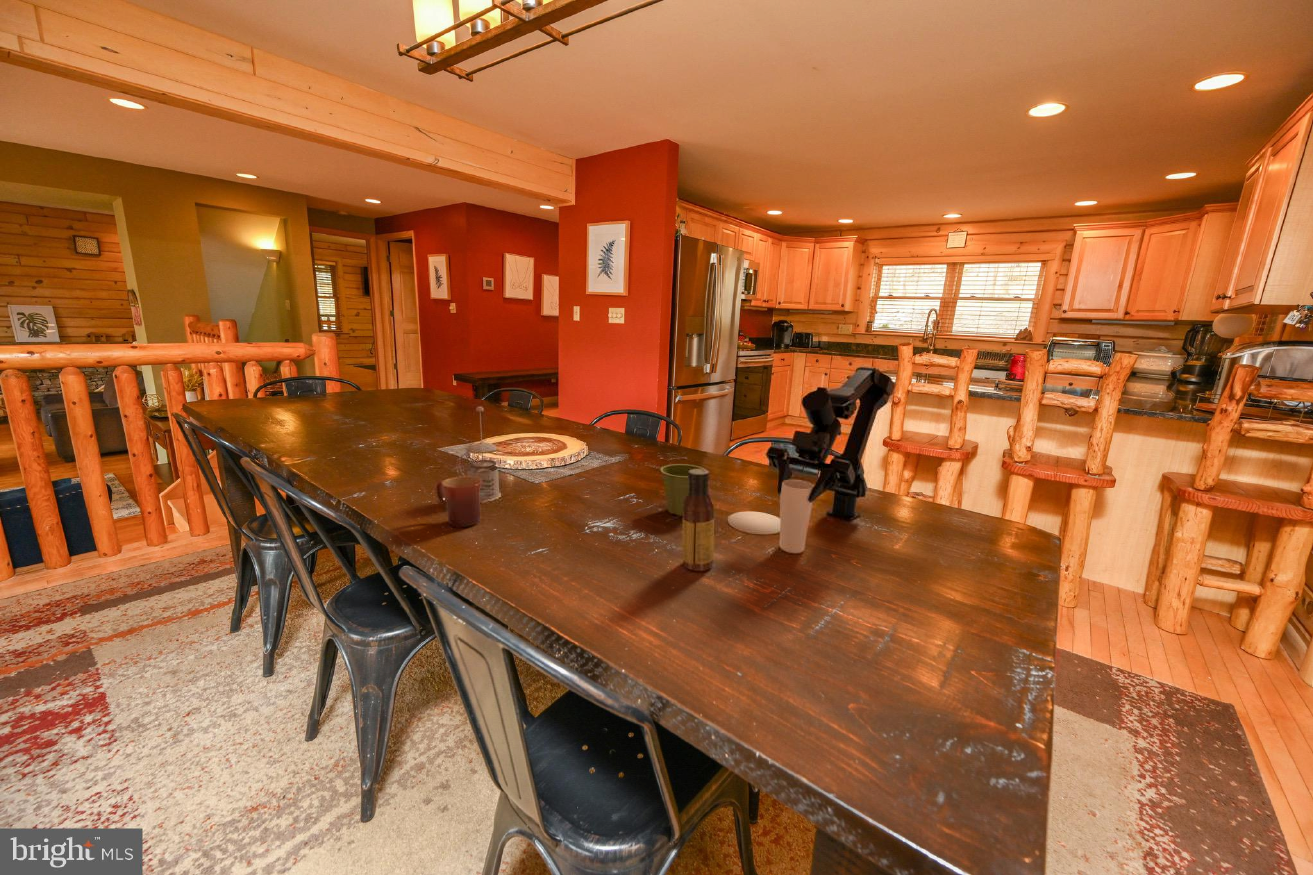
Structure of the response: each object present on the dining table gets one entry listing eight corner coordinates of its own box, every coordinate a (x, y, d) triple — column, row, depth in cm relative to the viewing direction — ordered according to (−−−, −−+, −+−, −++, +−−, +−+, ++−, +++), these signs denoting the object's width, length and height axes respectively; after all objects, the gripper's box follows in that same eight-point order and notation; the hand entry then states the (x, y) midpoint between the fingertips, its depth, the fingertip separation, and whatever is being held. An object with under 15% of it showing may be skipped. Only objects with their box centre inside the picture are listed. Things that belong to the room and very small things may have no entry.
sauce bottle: (715, 561, 103) (721, 469, 98) (708, 575, 97) (714, 477, 92) (685, 556, 105) (689, 465, 100) (676, 569, 99) (680, 473, 94)
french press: (496, 504, 130) (492, 410, 125) (452, 503, 130) (446, 408, 125) (507, 492, 140) (504, 404, 134) (466, 490, 140) (461, 402, 134)
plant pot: (714, 514, 128) (716, 472, 126) (677, 523, 122) (678, 479, 119) (686, 500, 138) (687, 461, 135) (650, 508, 131) (651, 467, 129)
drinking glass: (804, 543, 113) (811, 480, 109) (810, 557, 106) (817, 490, 103) (773, 541, 113) (779, 478, 110) (778, 554, 107) (784, 488, 103)
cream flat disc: (750, 508, 133) (750, 507, 133) (796, 524, 123) (796, 523, 123) (716, 521, 124) (716, 519, 124) (762, 539, 114) (762, 538, 114)
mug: (491, 519, 120) (490, 479, 118) (465, 533, 112) (463, 489, 110) (453, 511, 125) (450, 472, 122) (425, 523, 117) (422, 482, 115)
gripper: (773, 410, 112) (743, 467, 106) (856, 423, 100) (828, 487, 94) (786, 439, 119) (759, 493, 114) (865, 454, 108) (840, 516, 102)
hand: (793, 497), depth 106 cm, fingers closed on drinking glass, 7 cm apart
